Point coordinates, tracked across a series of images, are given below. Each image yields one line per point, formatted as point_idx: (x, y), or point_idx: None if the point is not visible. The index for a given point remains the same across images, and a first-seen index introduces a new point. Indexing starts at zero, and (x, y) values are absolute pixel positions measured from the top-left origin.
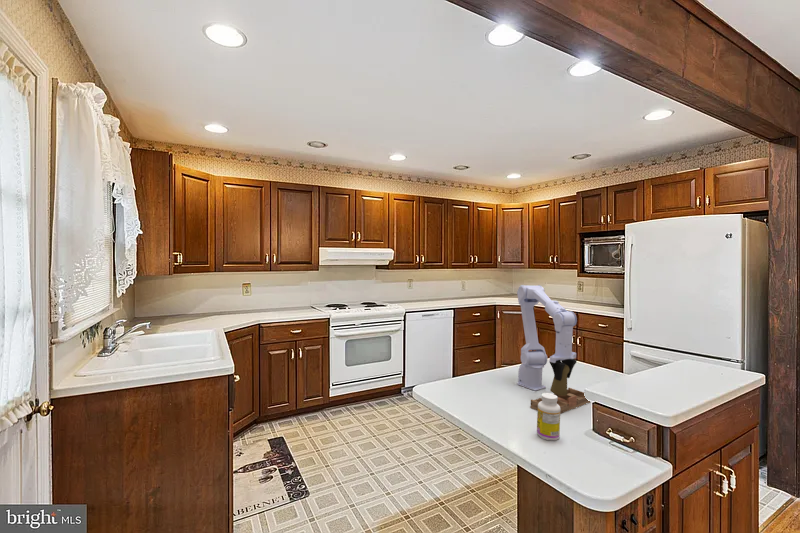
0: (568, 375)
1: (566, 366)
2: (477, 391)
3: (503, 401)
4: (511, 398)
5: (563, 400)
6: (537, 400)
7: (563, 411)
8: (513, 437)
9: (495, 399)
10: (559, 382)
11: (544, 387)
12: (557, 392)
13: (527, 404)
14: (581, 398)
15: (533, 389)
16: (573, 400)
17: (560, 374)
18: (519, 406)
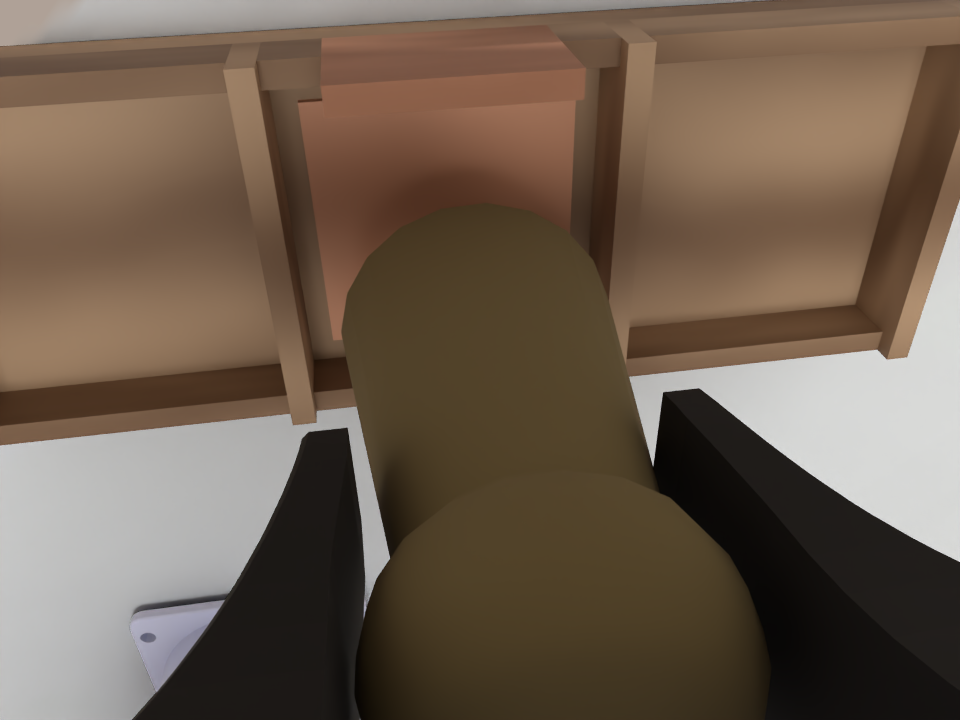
0: (351, 477)
1: (602, 673)
2: None
3: (894, 500)
4: None
5: (368, 241)
6: (790, 336)
7: (681, 10)
8: None
9: None
10: (629, 390)
11: (172, 612)
12: (603, 292)
13: (784, 374)
14: (107, 96)
15: (365, 603)
16: (423, 60)
17: (808, 476)
18: (903, 369)
